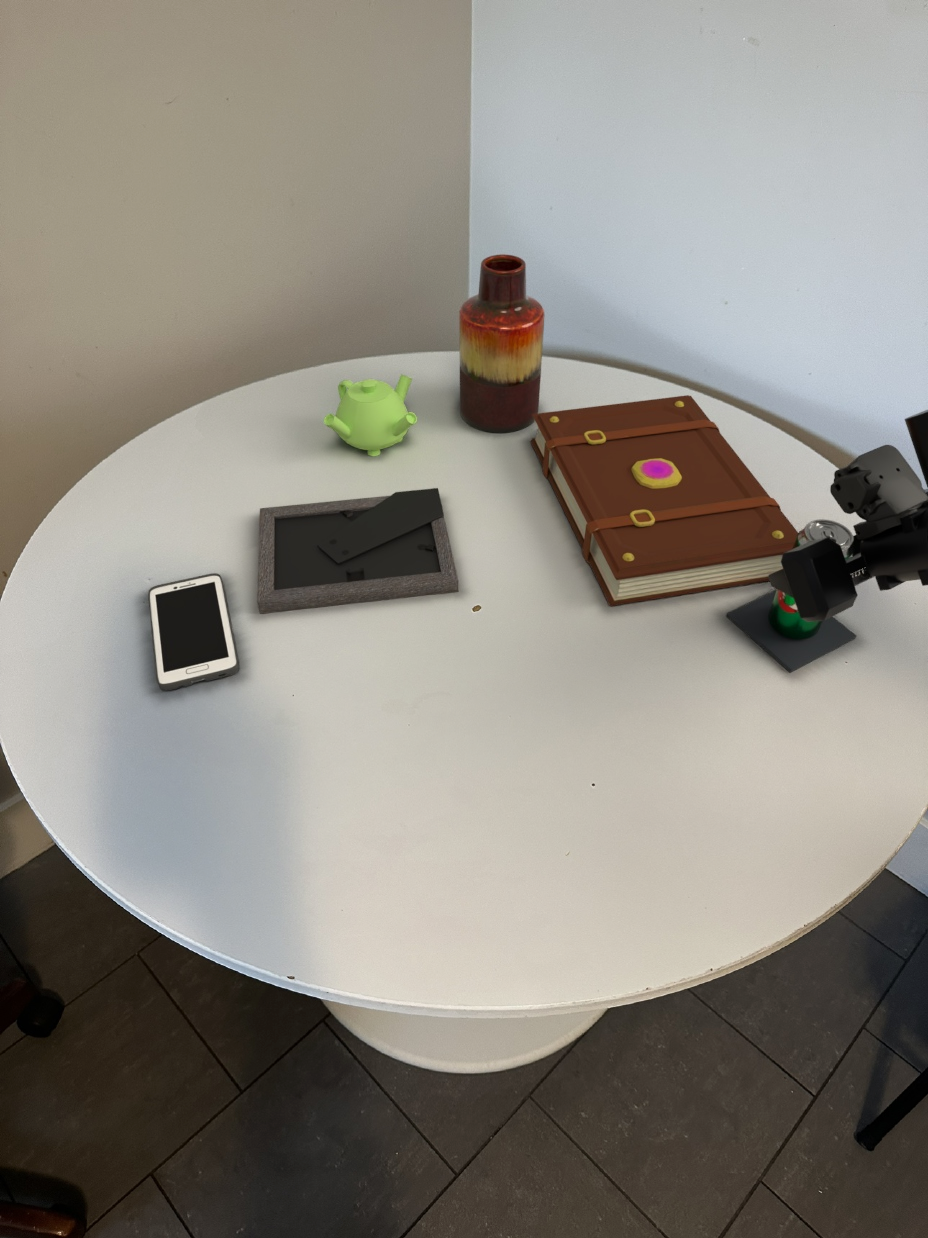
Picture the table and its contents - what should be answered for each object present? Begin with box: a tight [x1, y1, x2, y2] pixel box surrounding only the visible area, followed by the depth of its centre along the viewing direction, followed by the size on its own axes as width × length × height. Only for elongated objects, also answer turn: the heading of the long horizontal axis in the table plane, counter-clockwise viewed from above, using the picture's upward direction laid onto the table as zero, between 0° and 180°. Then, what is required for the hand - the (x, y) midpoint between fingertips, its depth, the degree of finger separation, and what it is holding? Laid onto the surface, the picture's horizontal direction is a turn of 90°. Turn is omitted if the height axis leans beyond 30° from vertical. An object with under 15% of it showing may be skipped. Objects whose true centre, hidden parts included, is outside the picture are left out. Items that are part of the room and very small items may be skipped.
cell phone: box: [147, 572, 240, 691], centre depth 83 cm, size 8×15×1 cm, turn 19°
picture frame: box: [256, 487, 459, 615], centre depth 91 cm, size 16×2×21 cm
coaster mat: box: [726, 589, 857, 674], centre depth 83 cm, size 9×9×1 cm
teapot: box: [323, 373, 418, 457], centre depth 105 cm, size 11×12×8 cm
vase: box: [458, 253, 546, 434], centre depth 105 cm, size 11×11×20 cm
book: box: [529, 394, 799, 607], centre depth 96 cm, size 23×32×5 cm
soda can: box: [768, 518, 854, 640], centre depth 79 cm, size 5×5×12 cm
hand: (806, 563), depth 78 cm, fingers open, 9 cm apart
